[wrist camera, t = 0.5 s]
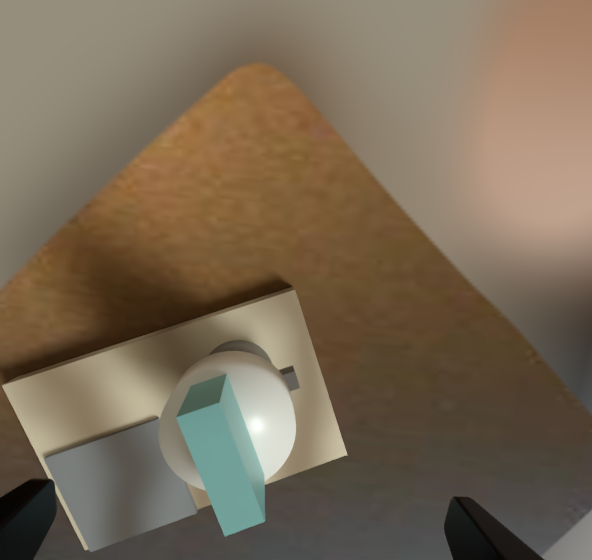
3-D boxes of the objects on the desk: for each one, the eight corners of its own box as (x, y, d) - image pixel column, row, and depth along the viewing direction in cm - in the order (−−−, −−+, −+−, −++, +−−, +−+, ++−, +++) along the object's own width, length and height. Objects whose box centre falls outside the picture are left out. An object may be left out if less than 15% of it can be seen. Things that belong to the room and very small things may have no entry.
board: (94, 533, 22) (43, 625, 17) (17, 376, 20) (-69, 426, 15) (342, 443, 23) (366, 503, 18) (293, 286, 21) (303, 303, 16)
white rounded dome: (195, 478, 16) (172, 566, 12) (152, 374, 15) (110, 428, 11) (306, 438, 17) (322, 509, 12) (271, 334, 16) (275, 372, 11)
